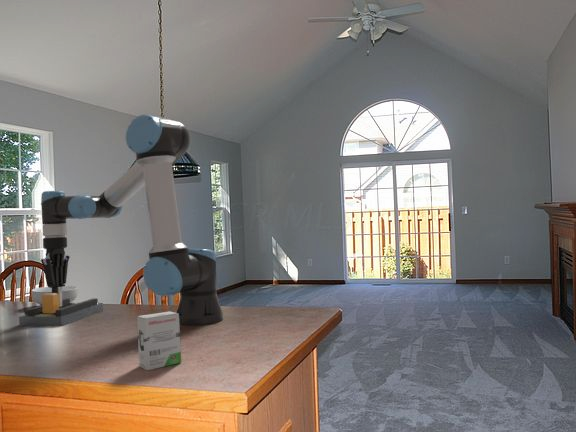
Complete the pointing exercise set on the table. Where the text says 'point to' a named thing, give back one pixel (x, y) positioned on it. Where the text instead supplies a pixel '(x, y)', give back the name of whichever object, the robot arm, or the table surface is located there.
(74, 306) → the long dark grey rail
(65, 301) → the dark grey edge bar
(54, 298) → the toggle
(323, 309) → the table surface
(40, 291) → the cereal bowl
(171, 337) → the ink box
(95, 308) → the grey slider base
